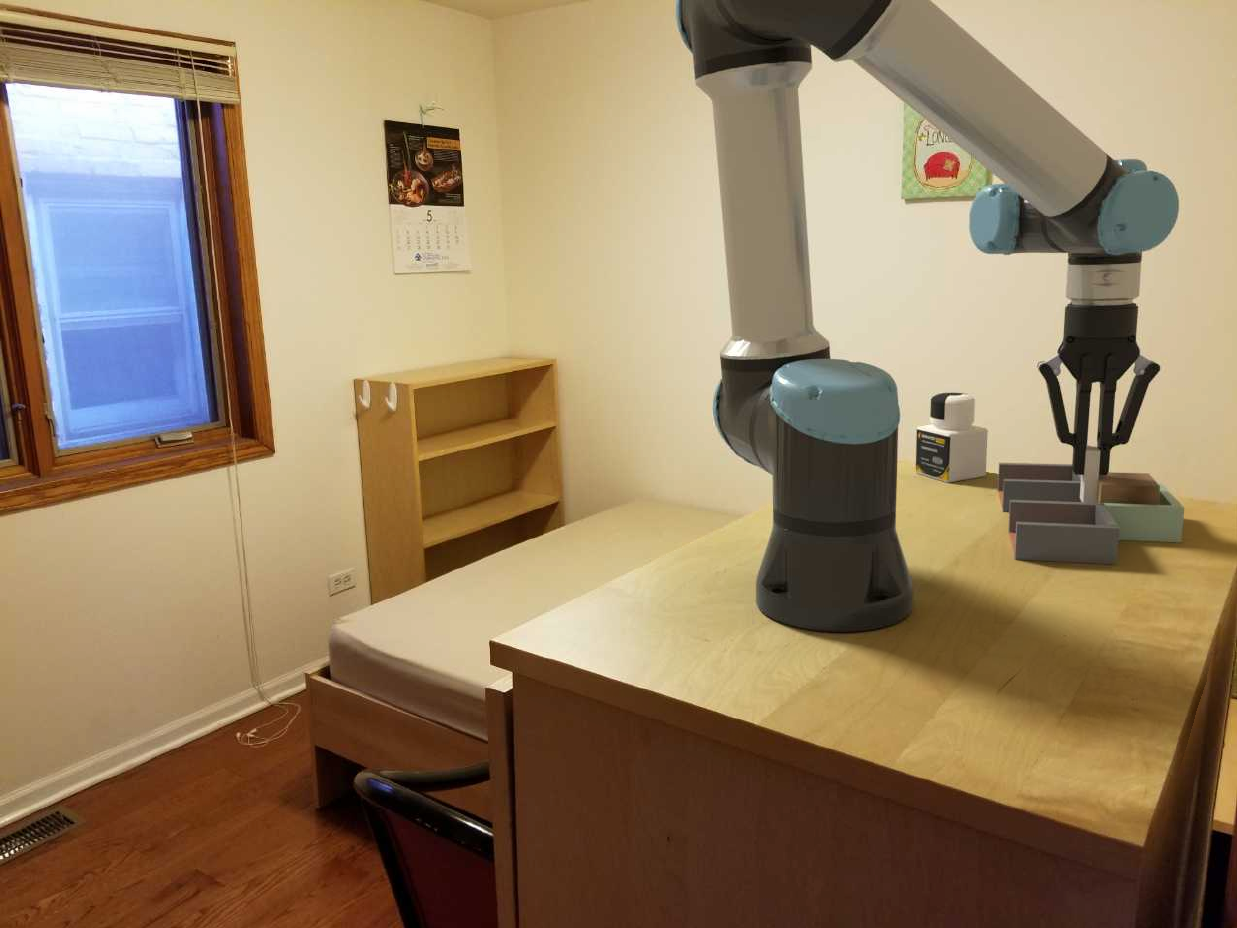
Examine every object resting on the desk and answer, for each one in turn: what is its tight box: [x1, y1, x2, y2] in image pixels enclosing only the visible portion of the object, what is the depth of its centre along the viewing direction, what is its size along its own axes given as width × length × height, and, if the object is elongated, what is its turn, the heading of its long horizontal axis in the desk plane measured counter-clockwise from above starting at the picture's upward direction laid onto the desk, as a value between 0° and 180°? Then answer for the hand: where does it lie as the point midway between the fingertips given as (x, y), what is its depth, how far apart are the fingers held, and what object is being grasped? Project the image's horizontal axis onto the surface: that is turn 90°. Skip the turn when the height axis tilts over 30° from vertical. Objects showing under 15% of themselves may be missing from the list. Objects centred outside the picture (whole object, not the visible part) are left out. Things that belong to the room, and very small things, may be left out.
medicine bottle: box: [915, 392, 989, 484], centre depth 141 cm, size 7×7×12 cm
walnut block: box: [1097, 471, 1160, 505], centre depth 114 cm, size 6×6×6 cm
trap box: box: [997, 462, 1185, 565], centre depth 116 cm, size 18×29×4 cm, turn 163°
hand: (1088, 500), depth 116 cm, fingers closed
